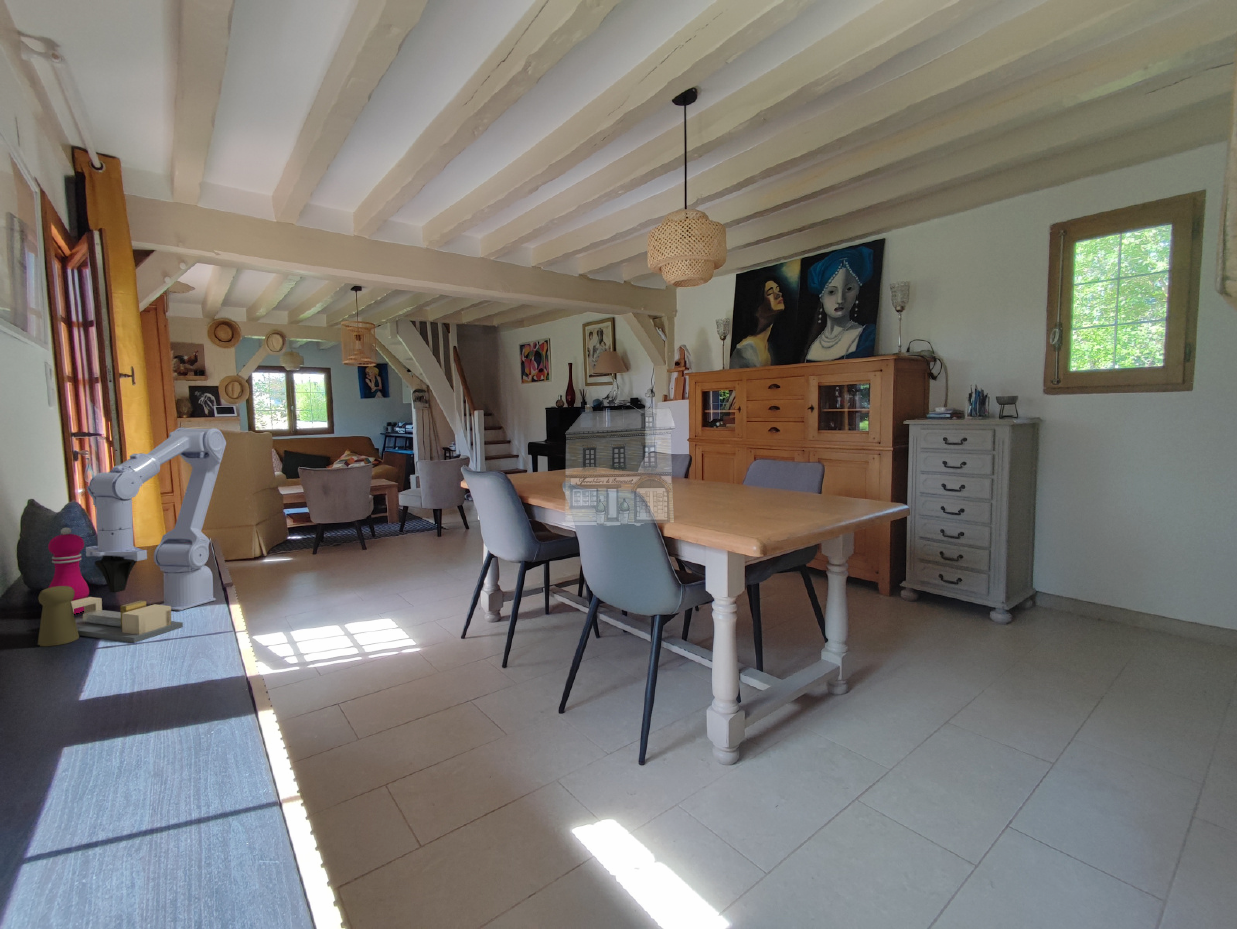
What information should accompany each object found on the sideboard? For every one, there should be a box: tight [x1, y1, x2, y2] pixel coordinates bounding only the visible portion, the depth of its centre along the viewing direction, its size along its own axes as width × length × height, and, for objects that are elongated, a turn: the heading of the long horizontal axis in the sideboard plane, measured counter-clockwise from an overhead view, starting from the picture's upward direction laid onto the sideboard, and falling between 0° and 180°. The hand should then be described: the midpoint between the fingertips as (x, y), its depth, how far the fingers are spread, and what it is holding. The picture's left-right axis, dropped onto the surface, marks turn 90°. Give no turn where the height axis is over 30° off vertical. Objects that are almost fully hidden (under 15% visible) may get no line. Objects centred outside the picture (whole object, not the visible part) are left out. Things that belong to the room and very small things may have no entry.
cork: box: [37, 586, 80, 647], centre depth 116 cm, size 6×6×11 cm
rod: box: [82, 600, 147, 628], centre depth 123 cm, size 4×17×5 cm, turn 76°
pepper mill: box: [47, 527, 90, 615], centre depth 133 cm, size 7×7×20 cm
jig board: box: [71, 596, 184, 643], centre depth 123 cm, size 10×25×5 cm, turn 76°
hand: (117, 591), depth 123 cm, fingers closed
